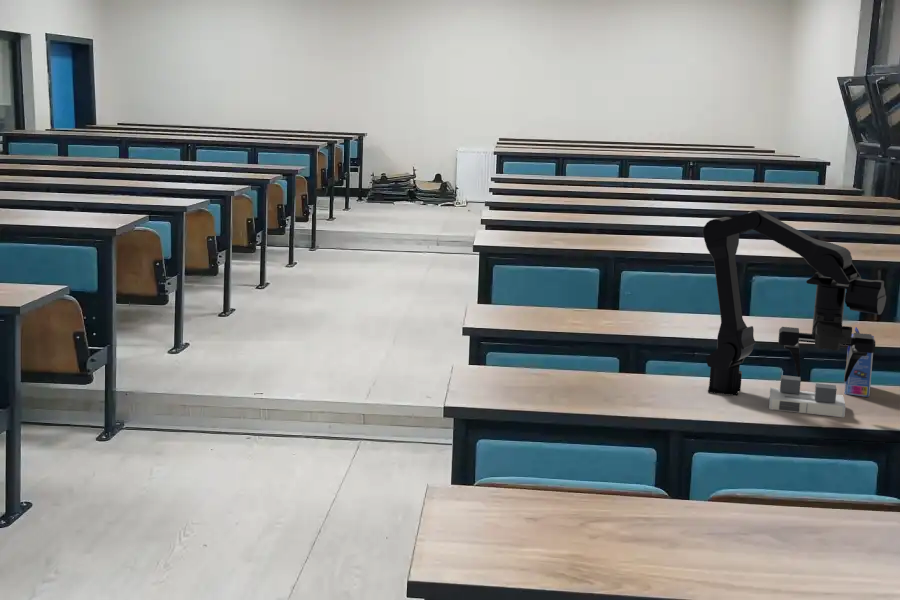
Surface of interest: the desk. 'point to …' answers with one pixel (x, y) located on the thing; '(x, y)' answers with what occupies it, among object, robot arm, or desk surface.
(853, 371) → the ink cartridge box
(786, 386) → the switch far
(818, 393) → the switch near
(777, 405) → the box
